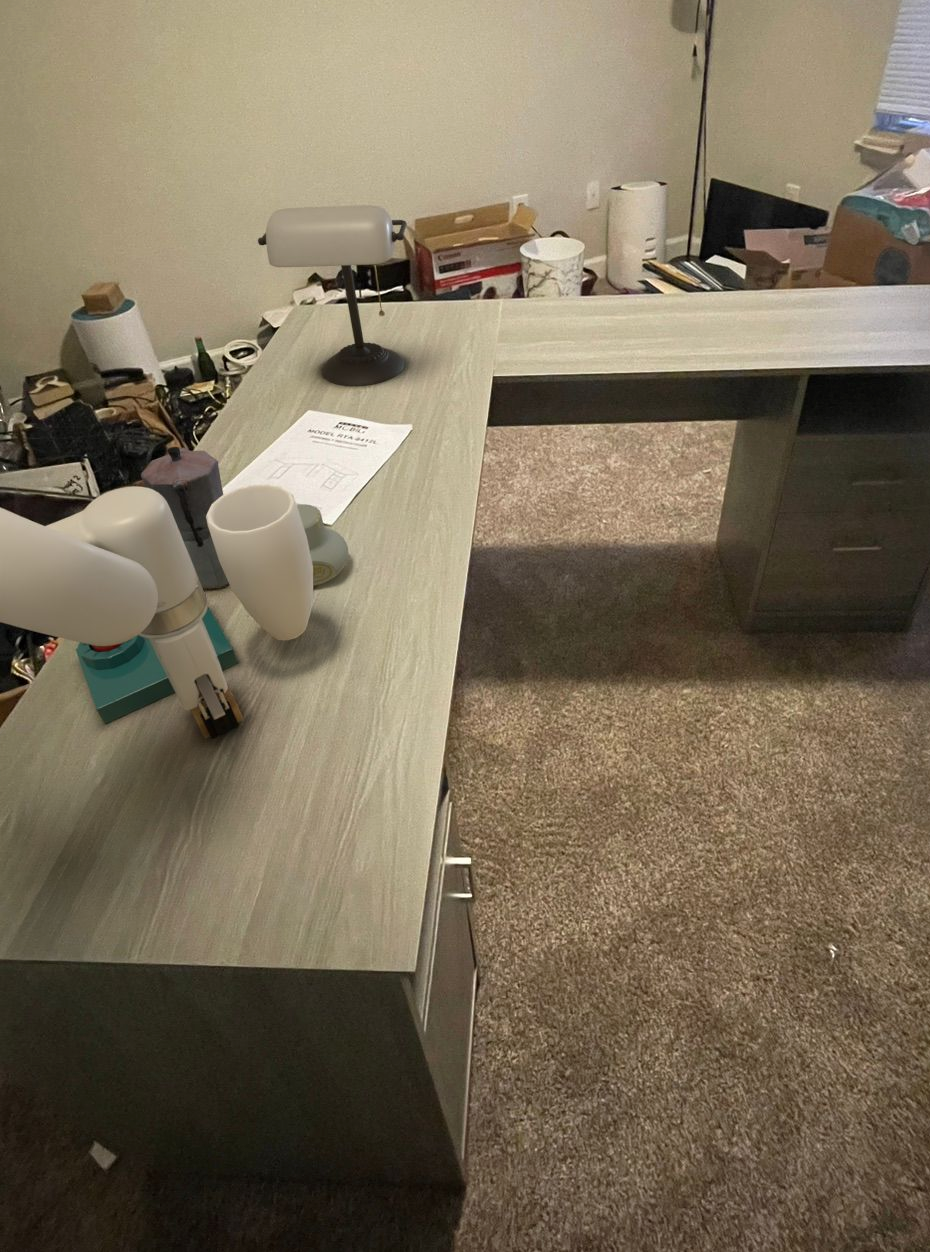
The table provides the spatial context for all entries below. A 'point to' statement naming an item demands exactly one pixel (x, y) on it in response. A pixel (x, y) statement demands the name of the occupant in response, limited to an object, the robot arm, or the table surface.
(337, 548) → the air freshener
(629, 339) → the table surface
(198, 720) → the block
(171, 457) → the moka pot
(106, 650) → the red button
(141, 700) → the button base
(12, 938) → the table surface
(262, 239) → the lamp
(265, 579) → the cup
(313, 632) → the table surface
